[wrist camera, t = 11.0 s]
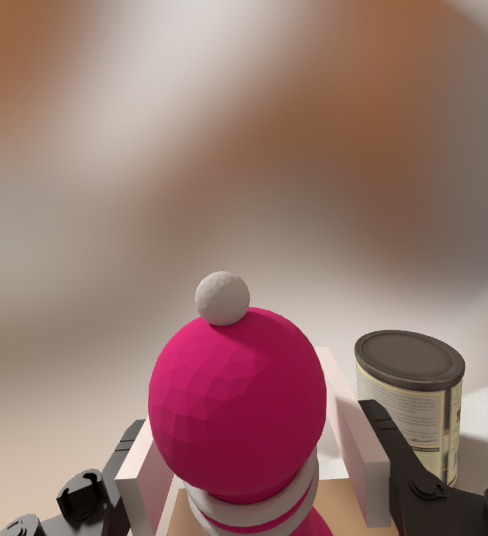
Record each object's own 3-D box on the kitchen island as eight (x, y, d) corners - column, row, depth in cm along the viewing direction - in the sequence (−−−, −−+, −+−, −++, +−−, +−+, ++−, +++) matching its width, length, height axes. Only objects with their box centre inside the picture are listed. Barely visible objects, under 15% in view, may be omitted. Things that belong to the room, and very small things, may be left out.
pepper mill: (405, 817, 9) (409, 291, 4) (206, 848, 9) (-1, 353, 4) (329, 548, 16) (301, 241, 11) (219, 565, 16) (145, 265, 11)
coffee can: (355, 412, 37) (351, 328, 34) (437, 423, 34) (440, 330, 31) (363, 484, 28) (359, 376, 25) (478, 510, 24) (489, 388, 21)
